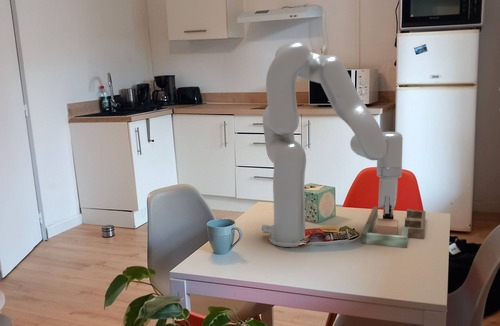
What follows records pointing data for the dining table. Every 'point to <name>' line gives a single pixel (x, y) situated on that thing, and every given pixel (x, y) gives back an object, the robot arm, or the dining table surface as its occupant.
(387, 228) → the block
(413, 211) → the box
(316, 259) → the dining table surface
